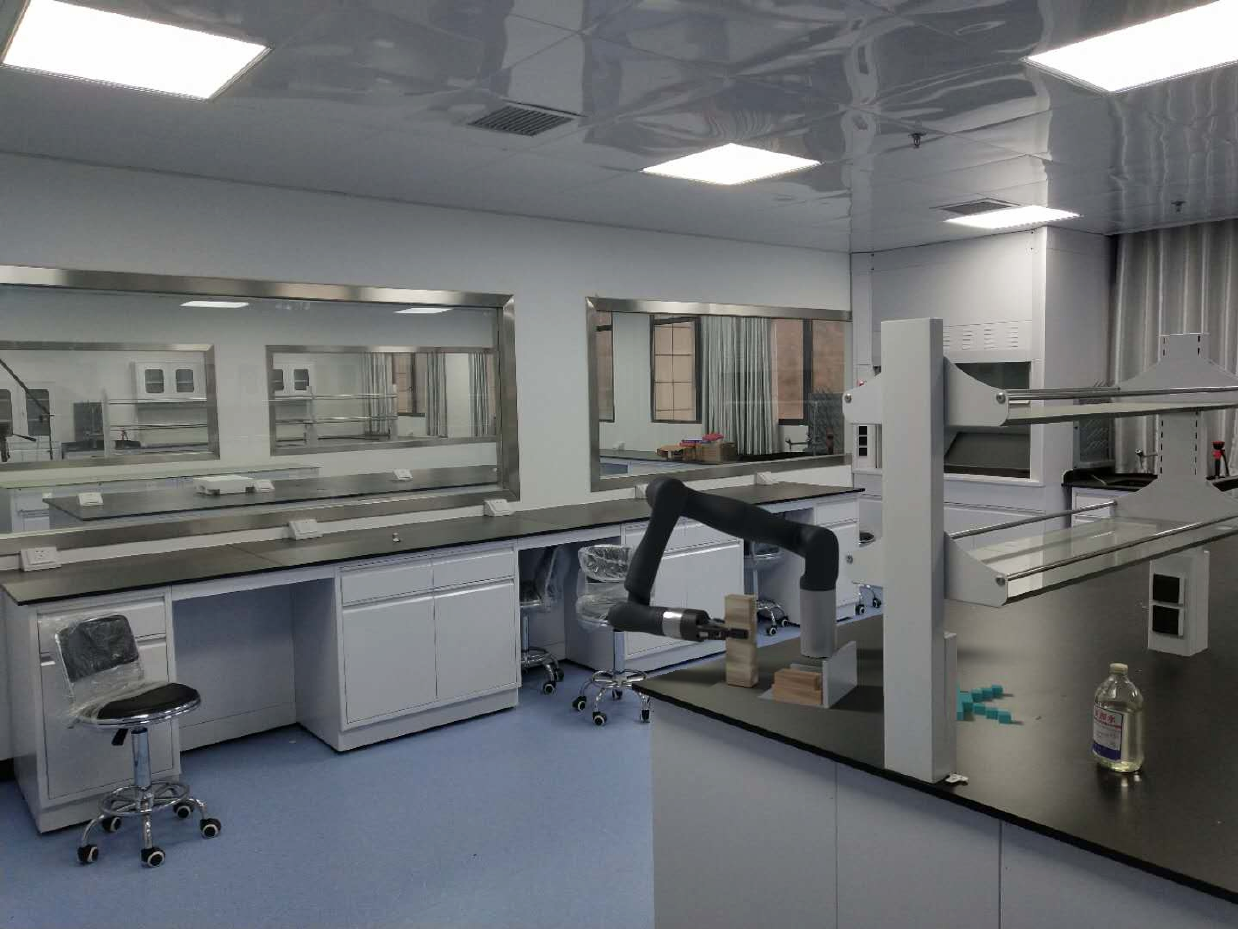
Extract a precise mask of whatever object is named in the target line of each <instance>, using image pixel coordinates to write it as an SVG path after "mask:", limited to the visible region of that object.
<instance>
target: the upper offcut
mask: <svg viewBox="0 0 1238 929" xmlns="http://www.w3.org/2000/svg"><path fill="white" fill-rule="evenodd" d="M773 682H774V683H775V685H779V686H786V687H793V688H799V689H806V690H813V691H814V690H815V689H817V688H818V687H820V686H821V685H822V674H821V673H814V672H807V671H800V670H792V669H790V668H784V667H783V668H780V669H778V670H777V671H776V672H774V681H773Z"/></svg>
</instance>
